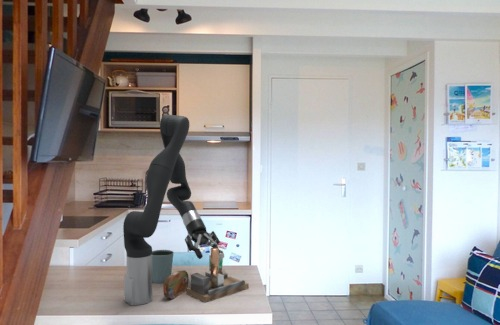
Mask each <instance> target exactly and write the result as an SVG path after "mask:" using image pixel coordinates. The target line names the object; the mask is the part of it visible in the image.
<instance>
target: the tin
mask: <svg viewBox="0 0 500 325" xmlns="http://www.w3.org/2000/svg"><path fill="white" fill-rule="evenodd" d="M189 279H190V278H189V274H188V272H187V271H186V270H181V269H179V270H176V272H174V273H171V275H170V276H168V277H167V278H166V279H165V281H164V283H163V284H162V285H163V286H162V287H163V295H164V297H166V298H168V299H173V300H174V299H175V298H177V297H178V296H180V295H181V294H182V293H184V292H185V291H187V288H189V287H188V286H189V281H190V280H189Z"/></svg>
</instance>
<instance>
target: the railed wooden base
mask: <svg viewBox="0 0 500 325" xmlns="http://www.w3.org/2000/svg"><path fill="white" fill-rule="evenodd" d="M222 275H224V286H222V287H219V288H213V287H211V288H210V289H209V277H207V276H205V275H204V274H201V273H198V272H196V273H191V274H190V287H187V289H186V294H187V295H188V296H191V297H193V298H195V299H197V300H199V301H202V302H204V303H208V302H210V301H213V300H214V301H215V300H216V299H220V298H222V297H226V296H230V295H232V294H233V295H234V294H235V293H238V292H241V291H244V290H248V289H249V286H250V285H249V283H248V282H246V280H244V279H242V280H240V279H237V278H235V277H232V276H228V273H224V274H223V273H222Z"/></svg>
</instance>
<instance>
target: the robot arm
mask: <svg viewBox="0 0 500 325" xmlns="http://www.w3.org/2000/svg"><path fill="white" fill-rule="evenodd" d="M159 130H160V131H159V132H160V136H161V140H162V144H163V148H164V149H162V151H160V152H159V153H158V154H157V155H156V156H155V157H154V158H153V159H152V161H151V162H150V164H149V167H148V170H147V172H146V176H145V185H146V191H147V199H146V205H145V206H144V209H143V211H138V210H135V211H134V210H133V211H130V212H128V213H127V214H126V216H125V217H124V220H123V225H122V226H123V228H122V230H123V231H122V232H123V246H124V250H125V252H126V274H125V275H124V277H123V278H124V280H123V281H124V282H123V283H124V288H123V291H124V292H123V293H124V295H123V296H124V298H123V299H124V300H123V301H124V302H126V303H127V304H129V306H137V305H145V304H148V303H150V302H151V301H152V300H153V282H152V251H153V248H152V245H151V244H149V243H148V242H147V241H146V238H151V237H152V236H153V235H154V233H155V231H156V230H157V226H158V224H159V219H160V214H161V211H162V207H163V204H164V198H165V196H166V198H167V200H168V201H169V203H170V204H171V205H172V206H173V207H174V209H176V210H177V211H178V213H179V215H180V218H181V219H182V222H183V225H184V227H185V229H186V231H187V233H188V235H186V236H185V238H184V242H185V244H186V246H187V250H188V251H189V252H191V251H193V252H194V254H195V256H196V258H197V259H198V260H201V259H202V258H203V254H202V253H203V252H202V251H201V249H200V248H199V246H202V245H206V246H210V247H211V248H219V246H218V245H219V244H220V243H221V241H220V240H219V238H218V236H217V234H216V232H215V231H214V230H212V231H211V232H208V231H207V227H206V225H205V223H204V220H203V219H202V218H201V215H200V213H198V211H197V209H196V207H195V205H194V202H192V201H190V199H191V196H192V191H191V188H190V185H189V182H188V179H187V176H186V175H187V174H186V173H187V172H186V163H185V160H184V159H183V157H182V155H181V153H180V152H181V150H182V148H183V145H184V143H185V141H186V138H187V137H188V133H189V130H190V120H189V118H188V117H187V116H184V115H178V114H177V115H174V114H165V115H164V114H163V115H162V116H161V118H160V122H159ZM170 183H172V184H175V185H177V186H173V187H170V188H168V187H169V185H170ZM193 242H194V243H193ZM220 250H221V249H219V253H220Z"/></svg>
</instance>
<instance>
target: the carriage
mask: <svg viewBox="0 0 500 325" xmlns="http://www.w3.org/2000/svg"><path fill="white" fill-rule="evenodd" d="M219 250H220V248H219V247H218V248H213V247H211V248H210V256H211V263H210V271H209V270H208V271H205V273H204V274H205V275H204V276H207V277H209V281H210V282H211V287H213V288H219V287H222V286H224V275H223V273H222V274H219Z"/></svg>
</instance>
